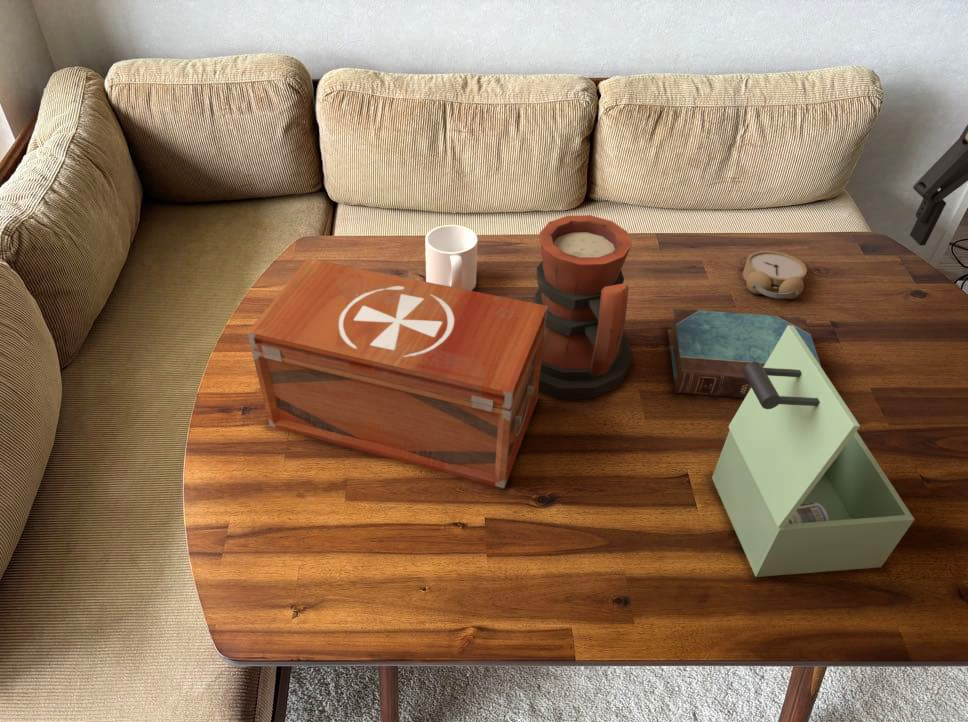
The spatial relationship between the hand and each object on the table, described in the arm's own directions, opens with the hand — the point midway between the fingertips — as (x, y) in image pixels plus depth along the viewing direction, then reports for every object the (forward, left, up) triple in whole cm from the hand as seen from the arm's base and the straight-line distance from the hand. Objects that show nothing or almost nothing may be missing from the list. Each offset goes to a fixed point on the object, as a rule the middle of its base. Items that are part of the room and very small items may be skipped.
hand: (964, 237), depth 108 cm
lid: (+10, +38, -10) cm, 41 cm away
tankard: (+47, +20, -31) cm, 60 cm away
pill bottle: (+2, +34, -28) cm, 44 cm away
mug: (+77, +12, -31) cm, 84 cm away
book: (+22, +5, -31) cm, 38 cm away
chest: (+5, +34, -31) cm, 46 cm away
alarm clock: (+24, -22, -31) cm, 45 cm away
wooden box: (+65, +46, -31) cm, 85 cm away
